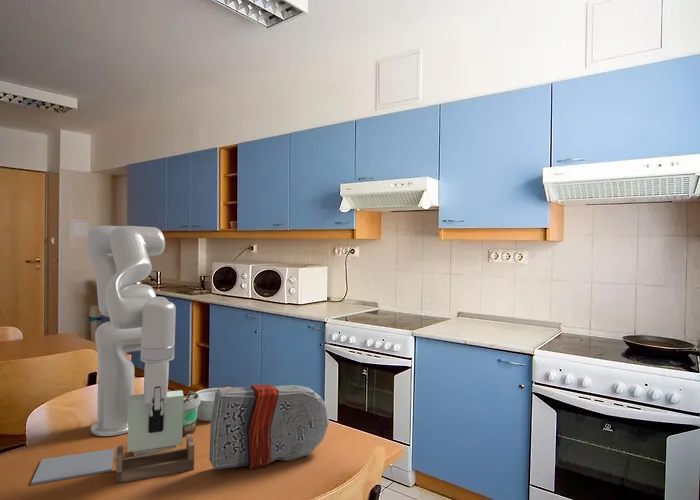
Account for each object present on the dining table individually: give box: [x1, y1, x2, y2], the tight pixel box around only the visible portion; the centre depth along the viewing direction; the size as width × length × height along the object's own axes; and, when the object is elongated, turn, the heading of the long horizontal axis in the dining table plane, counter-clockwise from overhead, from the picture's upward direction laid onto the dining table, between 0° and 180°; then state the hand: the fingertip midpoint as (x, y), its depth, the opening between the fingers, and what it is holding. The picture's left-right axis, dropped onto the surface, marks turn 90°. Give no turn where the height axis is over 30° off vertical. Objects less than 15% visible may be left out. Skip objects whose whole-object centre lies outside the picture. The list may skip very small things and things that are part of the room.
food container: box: [182, 390, 201, 438], centre depth 130 cm, size 12×6×10 cm, turn 168°
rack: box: [115, 434, 195, 484], centre depth 108 cm, size 7×17×6 cm, turn 115°
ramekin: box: [195, 387, 219, 422], centre depth 144 cm, size 13×13×7 cm
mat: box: [30, 448, 116, 486], centre depth 109 cm, size 12×16×1 cm
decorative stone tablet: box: [208, 384, 330, 470], centre depth 114 cm, size 19×6×30 cm
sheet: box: [126, 389, 185, 453], centre depth 109 cm, size 4×12×12 cm, turn 115°
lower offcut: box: [131, 445, 177, 457], centre depth 119 cm, size 4×10×2 cm, turn 126°
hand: (155, 427), depth 109 cm, fingers closed on sheet, 4 cm apart
